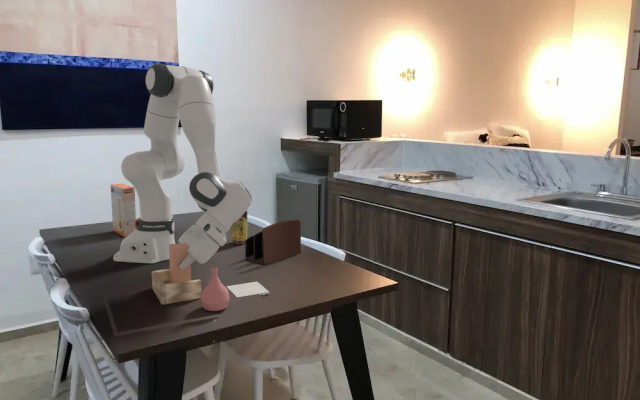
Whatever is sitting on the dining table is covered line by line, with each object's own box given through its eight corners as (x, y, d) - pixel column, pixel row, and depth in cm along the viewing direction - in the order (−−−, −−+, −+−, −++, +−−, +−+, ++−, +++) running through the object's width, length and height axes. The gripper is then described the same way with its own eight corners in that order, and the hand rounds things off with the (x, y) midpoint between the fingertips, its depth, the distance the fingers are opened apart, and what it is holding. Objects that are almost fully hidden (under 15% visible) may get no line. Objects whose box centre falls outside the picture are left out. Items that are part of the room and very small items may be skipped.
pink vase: (204, 318, 134) (203, 274, 131) (198, 307, 140) (196, 266, 138) (233, 313, 137) (232, 270, 135) (225, 303, 144) (224, 262, 141)
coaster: (237, 299, 146) (237, 297, 146) (226, 288, 155) (226, 286, 155) (269, 294, 151) (269, 291, 151) (257, 283, 160) (257, 281, 160)
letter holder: (301, 253, 194) (301, 217, 191) (264, 265, 179) (263, 226, 176) (282, 248, 200) (282, 213, 197) (244, 259, 185) (244, 222, 182)
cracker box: (137, 235, 216) (135, 187, 212) (123, 237, 212) (120, 188, 209) (126, 229, 227) (123, 182, 223) (112, 231, 223) (109, 184, 219)
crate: (161, 307, 140) (160, 286, 139) (152, 290, 153) (151, 271, 152) (201, 300, 146) (201, 280, 145) (189, 284, 158) (188, 266, 157)
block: (173, 288, 146) (172, 248, 144) (170, 283, 151) (168, 244, 148) (191, 286, 149) (190, 246, 146) (187, 281, 153) (186, 242, 151)
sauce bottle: (228, 244, 205) (227, 195, 201) (236, 240, 211) (236, 193, 207) (242, 245, 203) (242, 196, 199) (250, 242, 208) (250, 194, 205)
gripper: (193, 214, 158) (162, 248, 156) (212, 230, 141) (177, 268, 138) (208, 227, 161) (177, 260, 159) (228, 243, 144) (194, 281, 141)
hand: (177, 264), depth 148 cm, fingers closed on block, 5 cm apart
